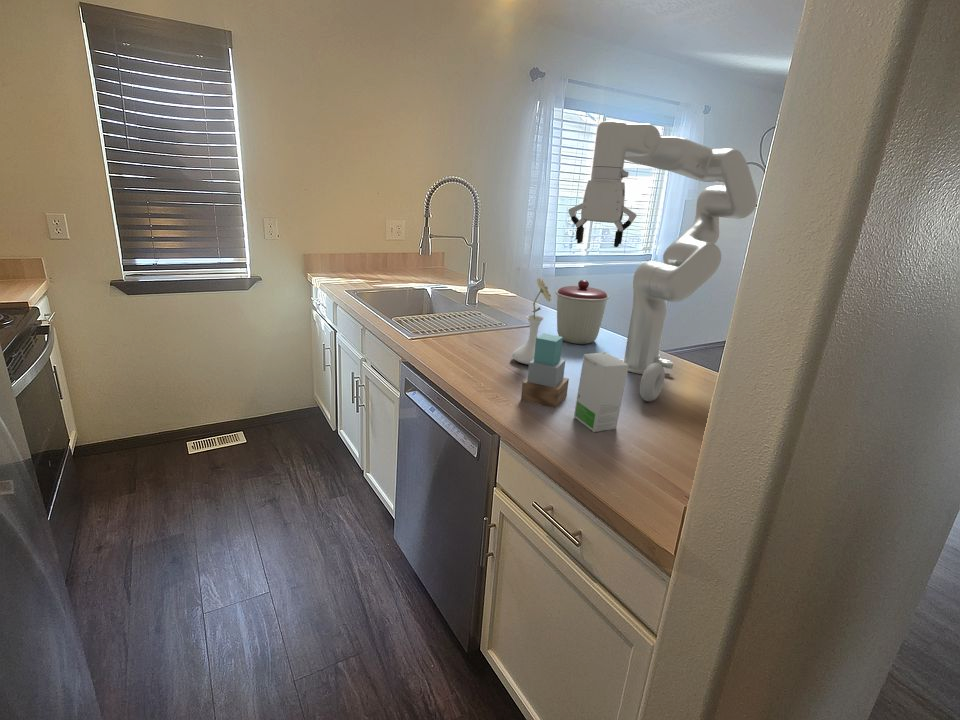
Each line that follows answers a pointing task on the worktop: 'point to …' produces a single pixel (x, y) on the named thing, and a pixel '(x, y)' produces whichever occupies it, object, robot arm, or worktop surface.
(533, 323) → the flower in vase
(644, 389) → the donut
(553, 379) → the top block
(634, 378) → the worktop surface
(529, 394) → the base block
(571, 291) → the canister
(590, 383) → the skincare box
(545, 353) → the teal block
